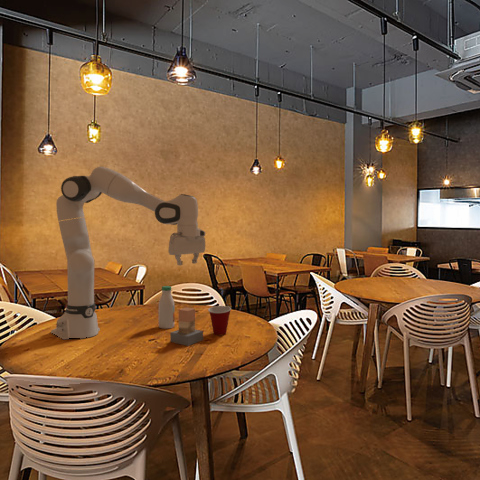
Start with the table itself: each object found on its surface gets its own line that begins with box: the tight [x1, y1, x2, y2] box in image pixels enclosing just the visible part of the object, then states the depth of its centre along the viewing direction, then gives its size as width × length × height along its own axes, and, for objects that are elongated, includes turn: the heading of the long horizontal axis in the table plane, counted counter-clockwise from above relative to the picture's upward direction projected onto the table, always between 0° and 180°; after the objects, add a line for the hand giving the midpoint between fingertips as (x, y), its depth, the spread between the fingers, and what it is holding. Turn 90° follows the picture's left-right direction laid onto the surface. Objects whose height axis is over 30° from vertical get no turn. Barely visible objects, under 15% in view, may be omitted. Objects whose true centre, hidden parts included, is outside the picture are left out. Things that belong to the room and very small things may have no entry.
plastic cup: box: [207, 305, 232, 336], centre depth 183 cm, size 11×11×12 cm
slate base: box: [169, 328, 204, 347], centre depth 172 cm, size 10×10×4 cm
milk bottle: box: [158, 285, 176, 330], centre depth 193 cm, size 8×8×20 cm
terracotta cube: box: [178, 307, 196, 323], centre depth 171 cm, size 5×5×5 cm
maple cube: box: [178, 319, 196, 334], centre depth 171 cm, size 5×5×5 cm
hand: (187, 264), depth 170 cm, fingers open, 8 cm apart
